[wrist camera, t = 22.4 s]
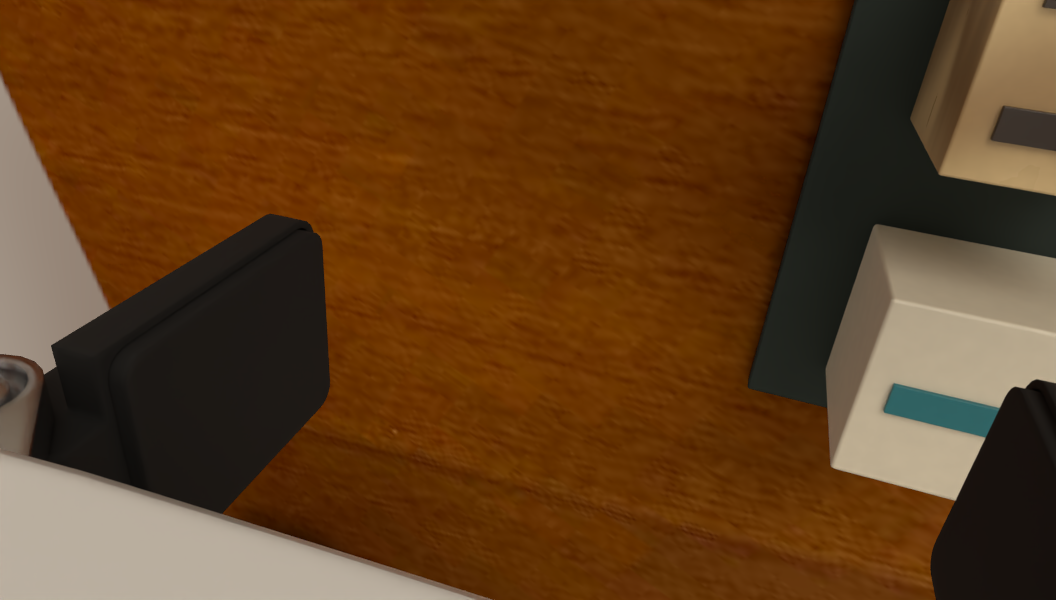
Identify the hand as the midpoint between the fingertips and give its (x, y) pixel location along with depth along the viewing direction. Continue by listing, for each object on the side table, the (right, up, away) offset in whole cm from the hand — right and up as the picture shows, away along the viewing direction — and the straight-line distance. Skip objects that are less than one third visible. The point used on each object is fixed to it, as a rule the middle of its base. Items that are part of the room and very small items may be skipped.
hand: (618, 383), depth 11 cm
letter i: (+9, +1, +9) cm, 13 cm away
